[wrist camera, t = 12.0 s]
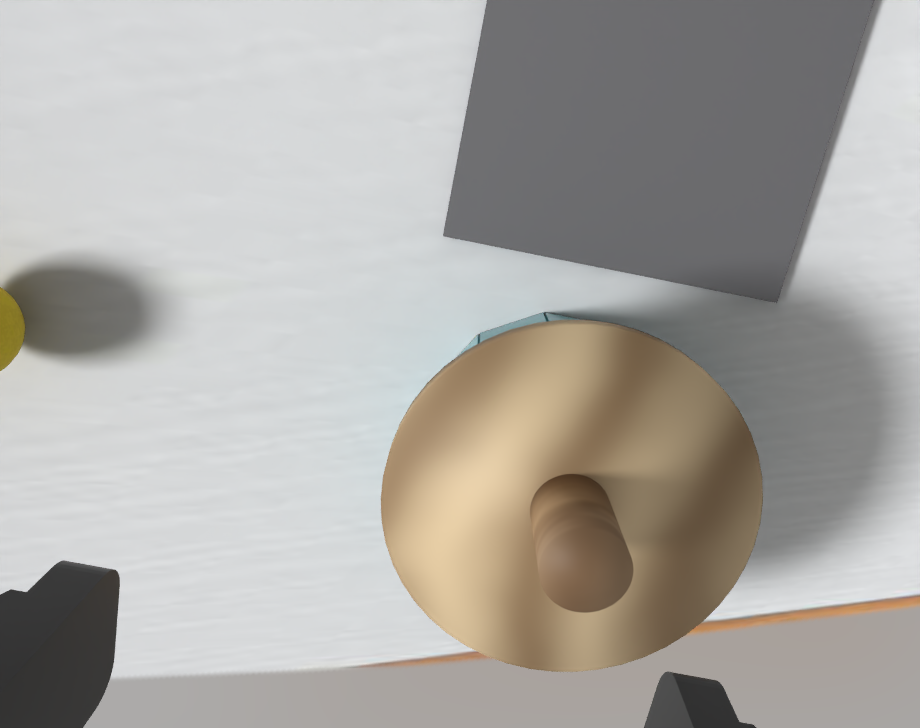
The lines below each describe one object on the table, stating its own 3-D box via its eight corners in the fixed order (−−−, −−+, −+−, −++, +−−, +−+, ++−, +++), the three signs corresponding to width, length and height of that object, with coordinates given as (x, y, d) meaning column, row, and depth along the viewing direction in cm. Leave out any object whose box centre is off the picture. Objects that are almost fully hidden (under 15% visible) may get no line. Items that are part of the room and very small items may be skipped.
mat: (891, -70, 34) (897, -73, 34) (773, 301, 39) (776, 302, 39) (516, -152, 34) (516, -156, 33) (443, 235, 39) (443, 236, 38)
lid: (802, 360, 32) (876, 406, 26) (694, 682, 37) (736, 785, 31) (418, 285, 31) (405, 315, 26) (358, 621, 36) (334, 713, 30)
